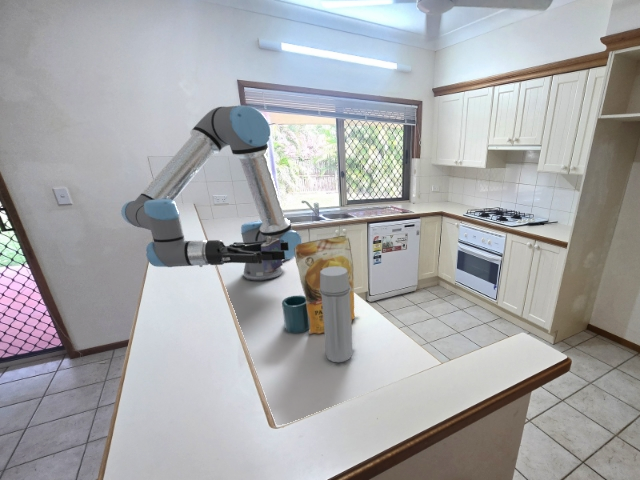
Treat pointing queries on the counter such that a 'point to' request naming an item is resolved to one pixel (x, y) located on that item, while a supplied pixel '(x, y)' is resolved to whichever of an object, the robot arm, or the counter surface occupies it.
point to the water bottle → (336, 313)
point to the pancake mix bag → (310, 264)
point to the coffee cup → (295, 314)
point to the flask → (271, 246)
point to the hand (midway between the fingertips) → (286, 250)
